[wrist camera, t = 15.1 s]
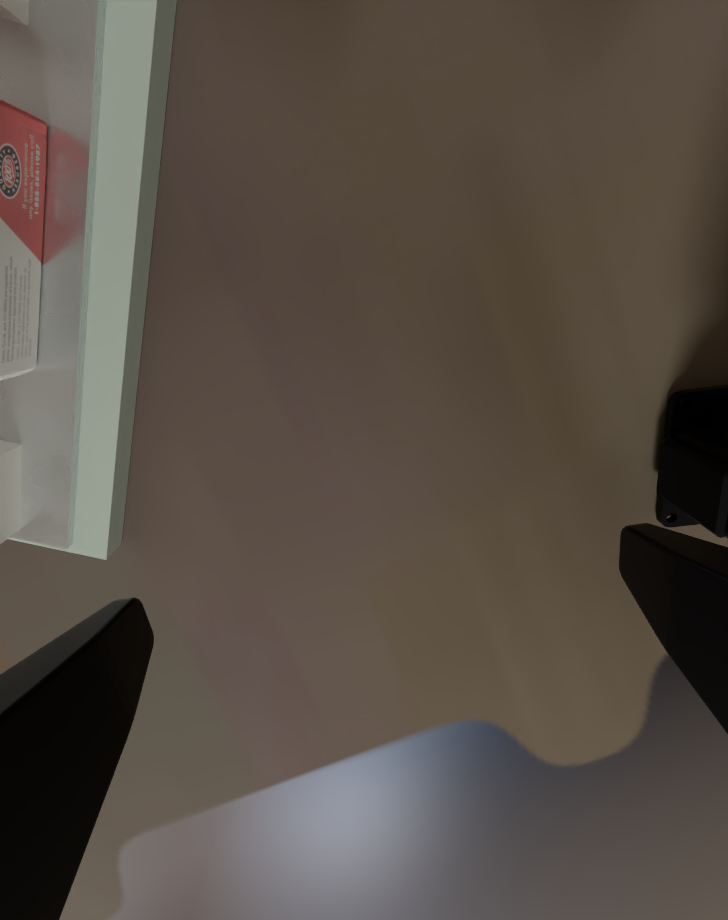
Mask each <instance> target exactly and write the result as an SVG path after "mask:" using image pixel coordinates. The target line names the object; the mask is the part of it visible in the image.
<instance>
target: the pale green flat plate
mask: <svg viewBox="0 0 728 920" xmlns="http://www.w3.org/2000/svg"><path fill="white" fill-rule="evenodd" d="M106 4H107V0H29V26H27V25H24V24H20V23H17V22H14V21H11V20H8V19H5V18H1V17H0V100H3V101H5V102H7V103H9V104H11V105H13V106H15V107H17V108H19V109H21V110H23V111H25V112H27V113H29V114H31V115H33V116H35V117H37V118H39V119H41V120H43V121H44V122H45V123H46V125H47V135H46V137H47V150H46V178H45V200H44V221H43V240H42V257H41V284H40V303H39V327H38V344H37V363H36V367H35V368H34V369H33V370H32V371H30V372H27V373H25V374H22V375H18V376H15V377H11V378H7V379H4V380H0V440H3V441H7V442H11V443H15V444H20V445H21V501H20V530H19V531H17V532H16V533H14V534H13V535H12V536H10V537H12V538H17V539H21V540H26V541H31V542H35V543H40V544H45V545H49V546H54V547H59V548H63V549H68V548H69V547H70V546H71V545H72V544H73V539H74V523H75V507H76V490H77V474H78V458H79V442H80V426H81V409H82V393H83V377H84V361H85V344H86V328H87V312H88V296H89V280H90V263H91V247H92V231H93V215H94V198H95V182H96V166H97V150H98V134H99V117H100V101H101V85H102V69H103V52H104V36H105V20H106Z"/></svg>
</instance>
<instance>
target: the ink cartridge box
mask: <svg viewBox="0 0 728 920" xmlns="http://www.w3.org/2000/svg"><path fill="white" fill-rule="evenodd" d="M46 135H47V125H46V123H45V122H44V121H43V120H41V119H39V118H37V117H35V116H33V115H31V114H29V113H27V112H25V111H23V110H21V109H19V108H17V107H15V106H13V105H11V104H9V103H7V102H5V101H3V100H0V380H4V379H7V378H11V377H15V376H18V375H22V374H25V373H27V372H30V371H32V370H33V369H34V368H35V367H36V363H37V344H38V327H39V303H40V284H41V257H42V240H43V221H44V200H45V178H46V150H47V137H46Z"/></svg>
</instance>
